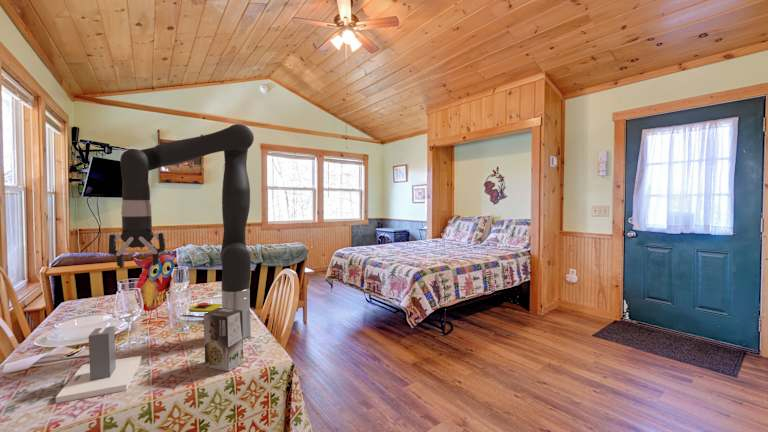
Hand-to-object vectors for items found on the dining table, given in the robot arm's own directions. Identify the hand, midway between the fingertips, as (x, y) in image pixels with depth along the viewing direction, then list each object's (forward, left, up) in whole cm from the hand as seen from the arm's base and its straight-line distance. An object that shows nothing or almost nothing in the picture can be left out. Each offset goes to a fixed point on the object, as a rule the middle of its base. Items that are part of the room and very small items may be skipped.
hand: (138, 266), depth 109 cm
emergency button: (-17, -37, -29) cm, 49 cm away
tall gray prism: (+6, +14, -27) cm, 31 cm away
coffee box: (-24, +18, -28) cm, 41 cm away
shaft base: (+6, +14, -28) cm, 32 cm away
